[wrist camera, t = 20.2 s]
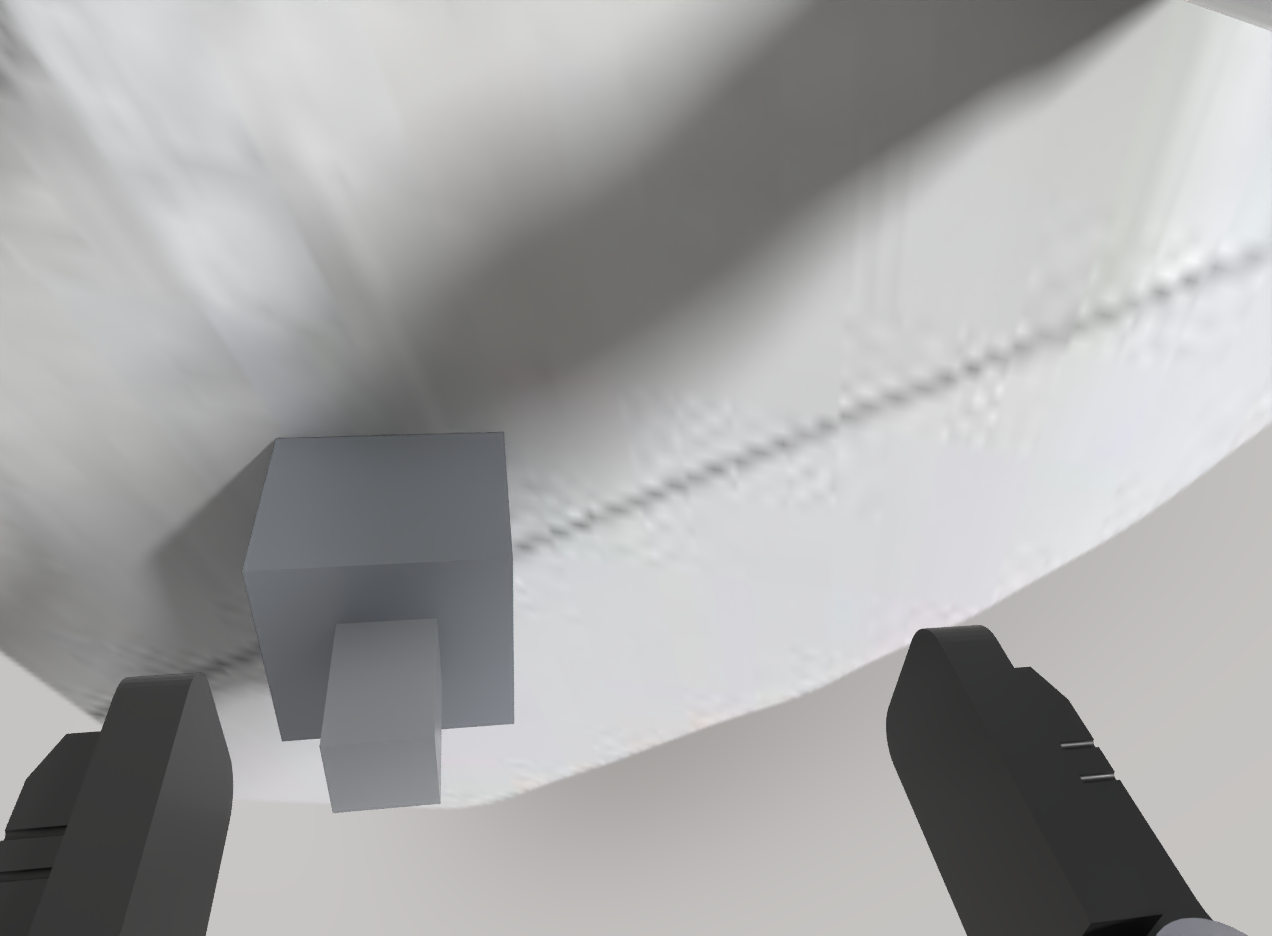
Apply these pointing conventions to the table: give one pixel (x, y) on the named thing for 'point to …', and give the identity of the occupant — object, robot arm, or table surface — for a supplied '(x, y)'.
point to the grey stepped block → (384, 603)
